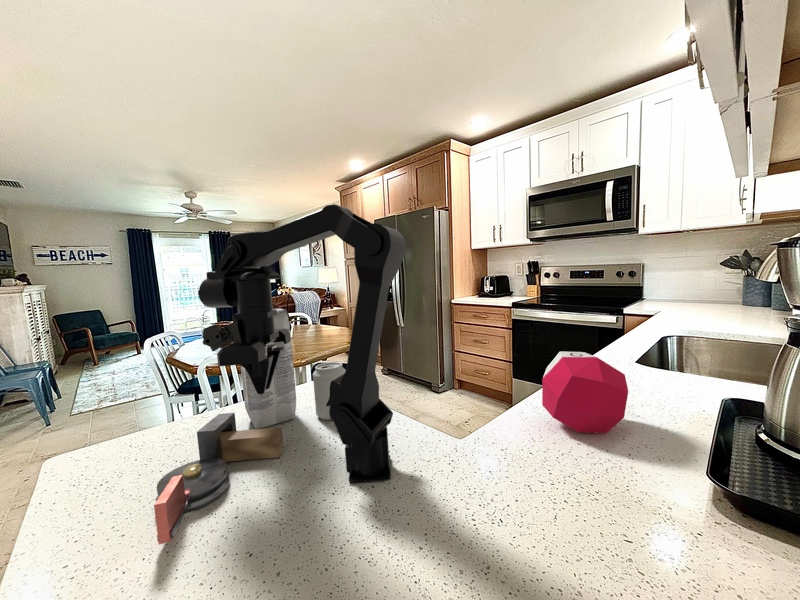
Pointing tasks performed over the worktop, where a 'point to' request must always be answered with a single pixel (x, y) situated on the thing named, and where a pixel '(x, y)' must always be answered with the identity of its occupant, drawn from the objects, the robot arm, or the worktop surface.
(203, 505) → the disc
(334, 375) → the can
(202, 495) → the handwheel
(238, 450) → the brown rectangular bar
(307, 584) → the worktop surface
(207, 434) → the iron eye
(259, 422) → the juice carton
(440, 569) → the worktop surface
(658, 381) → the worktop surface
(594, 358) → the decorative object
